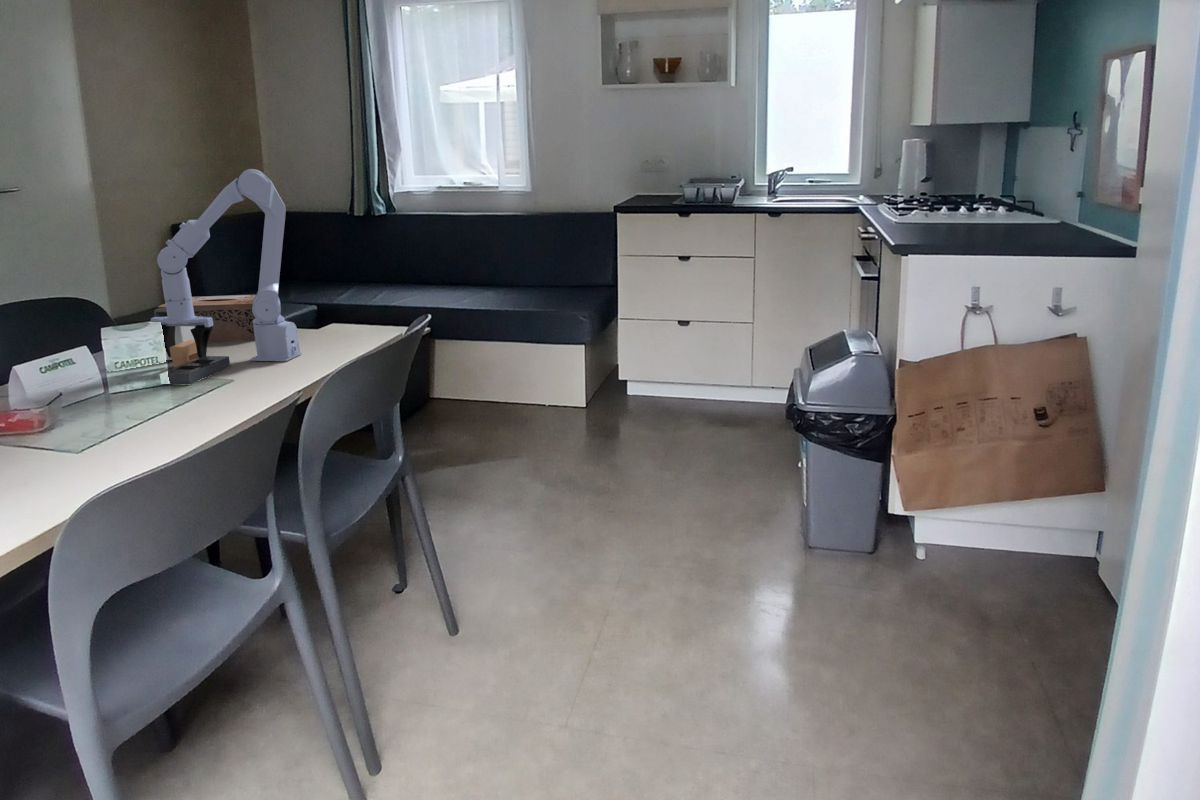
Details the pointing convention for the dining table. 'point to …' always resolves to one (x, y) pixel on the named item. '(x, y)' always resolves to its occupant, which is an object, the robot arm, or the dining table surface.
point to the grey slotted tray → (197, 369)
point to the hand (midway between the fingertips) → (187, 356)
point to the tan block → (183, 352)
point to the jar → (177, 328)
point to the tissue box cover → (226, 316)
